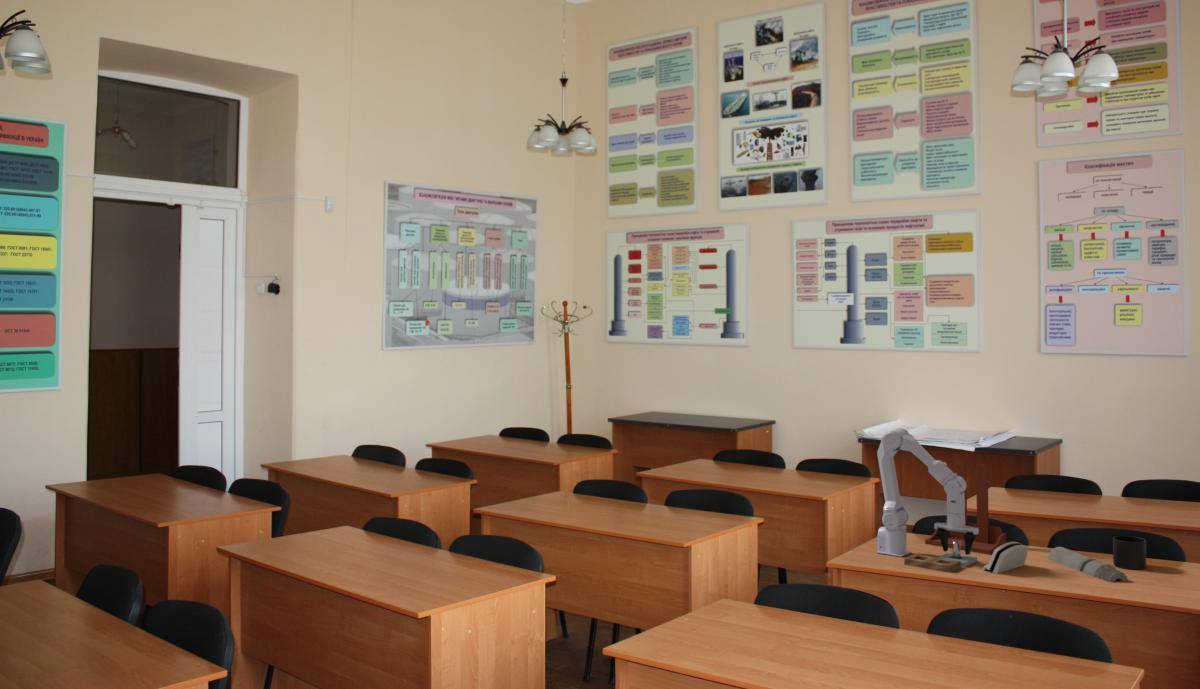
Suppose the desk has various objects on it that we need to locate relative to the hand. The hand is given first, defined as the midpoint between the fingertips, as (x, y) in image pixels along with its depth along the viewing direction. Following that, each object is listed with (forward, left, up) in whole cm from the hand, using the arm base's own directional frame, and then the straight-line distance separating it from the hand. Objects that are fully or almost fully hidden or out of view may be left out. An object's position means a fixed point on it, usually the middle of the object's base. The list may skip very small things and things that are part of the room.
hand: (956, 552), depth 319 cm
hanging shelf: (-7, +24, -4) cm, 25 cm away
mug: (+44, +31, -4) cm, 54 cm away
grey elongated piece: (+36, +18, -4) cm, 40 cm away
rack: (-4, -10, -3) cm, 11 cm away
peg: (0, 0, -3) cm, 3 cm away
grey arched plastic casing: (+16, +2, -4) cm, 17 cm away
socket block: (0, 0, -3) cm, 3 cm away
